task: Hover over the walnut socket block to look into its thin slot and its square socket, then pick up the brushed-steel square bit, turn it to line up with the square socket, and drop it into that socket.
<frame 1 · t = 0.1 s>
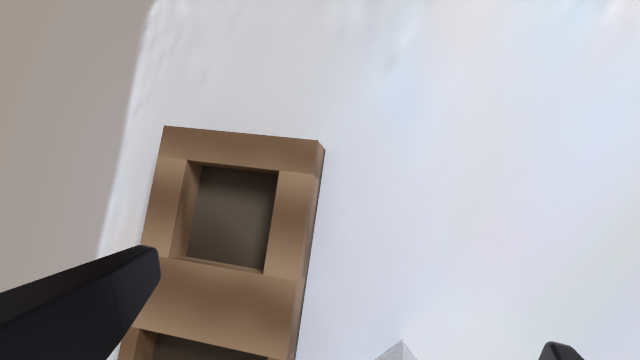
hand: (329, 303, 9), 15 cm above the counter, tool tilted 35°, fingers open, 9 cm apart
socket block: (229, 279, 25), on the counter
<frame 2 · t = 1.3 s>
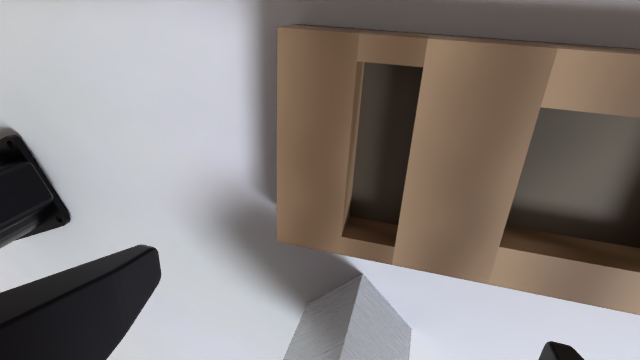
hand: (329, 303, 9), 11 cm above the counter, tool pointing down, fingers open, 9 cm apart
socket block: (484, 156, 18), on the counter
square bit: (357, 316, 23), on the counter
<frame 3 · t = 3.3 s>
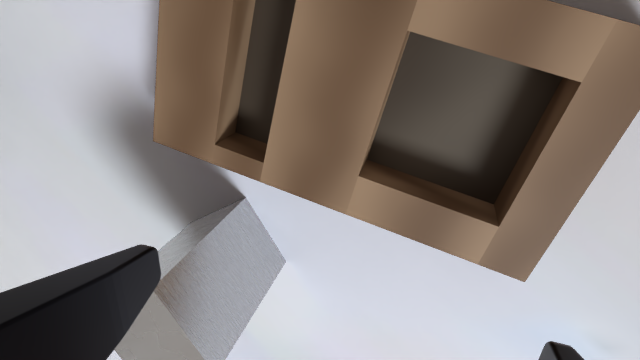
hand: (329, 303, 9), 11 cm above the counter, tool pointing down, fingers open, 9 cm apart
socket block: (367, 89, 17), on the counter
square bit: (237, 241, 23), on the counter
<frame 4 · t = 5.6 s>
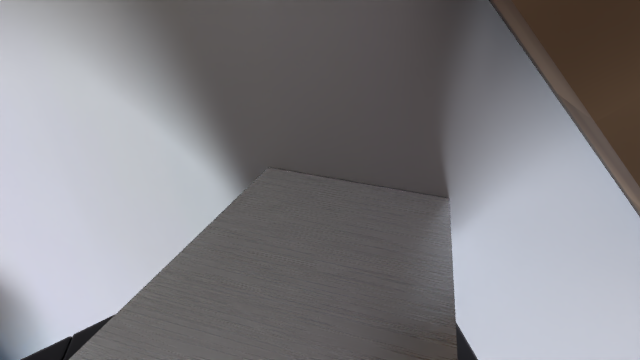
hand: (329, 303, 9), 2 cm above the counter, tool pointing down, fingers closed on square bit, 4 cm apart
square bit: (346, 257, 10), on the counter, touching gripper
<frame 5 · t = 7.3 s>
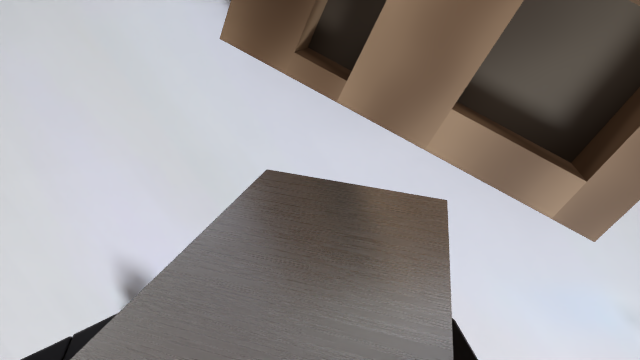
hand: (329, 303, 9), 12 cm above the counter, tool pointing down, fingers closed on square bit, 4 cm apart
socket block: (469, 21, 16), on the counter
square bit: (344, 258, 10), point 10 cm above the counter, touching gripper
when the fingers open (4 cm above the counter, at t = 9.5 s): square bit drops 2 cm, resting on socket block.
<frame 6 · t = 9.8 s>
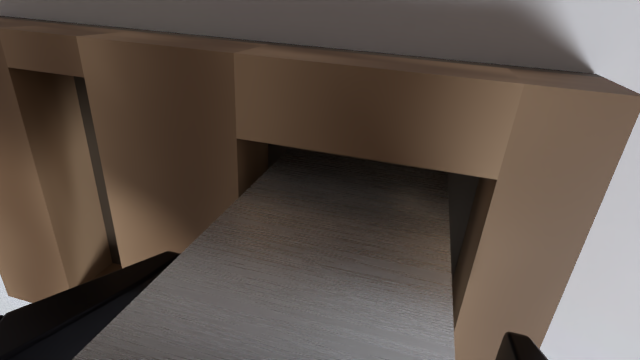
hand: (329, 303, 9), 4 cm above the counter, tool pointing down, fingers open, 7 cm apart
socket block: (246, 195, 13), on the counter
square bit: (357, 227, 12), resting on socket block
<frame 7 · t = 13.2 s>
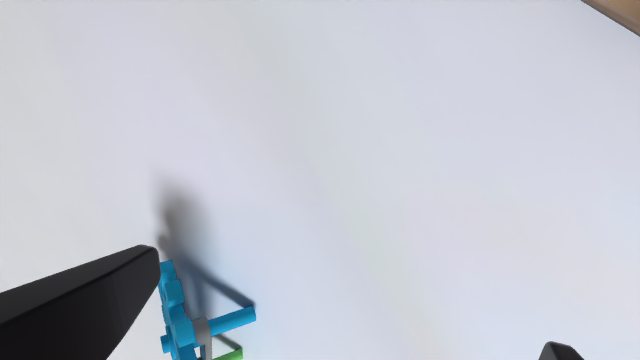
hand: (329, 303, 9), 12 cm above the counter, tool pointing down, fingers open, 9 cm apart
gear: (212, 302, 28), on the counter
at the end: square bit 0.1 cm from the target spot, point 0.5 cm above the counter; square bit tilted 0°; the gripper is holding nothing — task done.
